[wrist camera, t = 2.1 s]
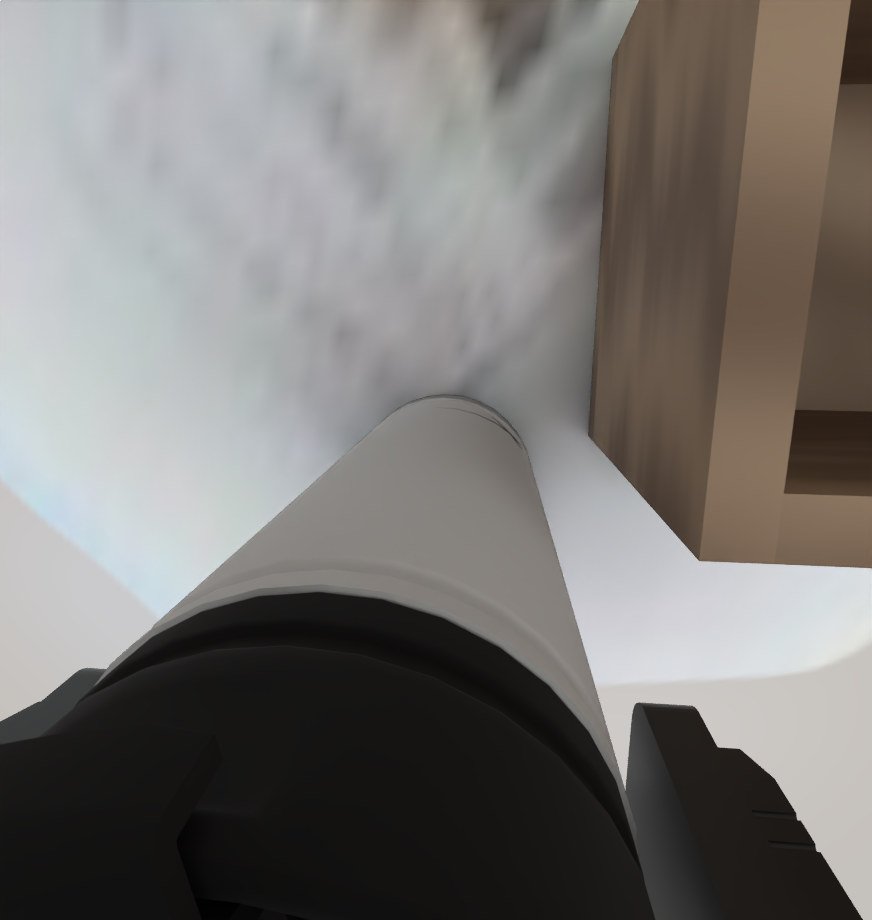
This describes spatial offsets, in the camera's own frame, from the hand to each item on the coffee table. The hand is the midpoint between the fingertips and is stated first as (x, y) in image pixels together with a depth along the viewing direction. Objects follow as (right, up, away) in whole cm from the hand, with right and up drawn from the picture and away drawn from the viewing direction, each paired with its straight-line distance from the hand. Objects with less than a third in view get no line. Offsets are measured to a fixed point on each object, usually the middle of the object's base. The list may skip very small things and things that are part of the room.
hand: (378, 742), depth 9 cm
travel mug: (+1, +4, +14) cm, 15 cm away
